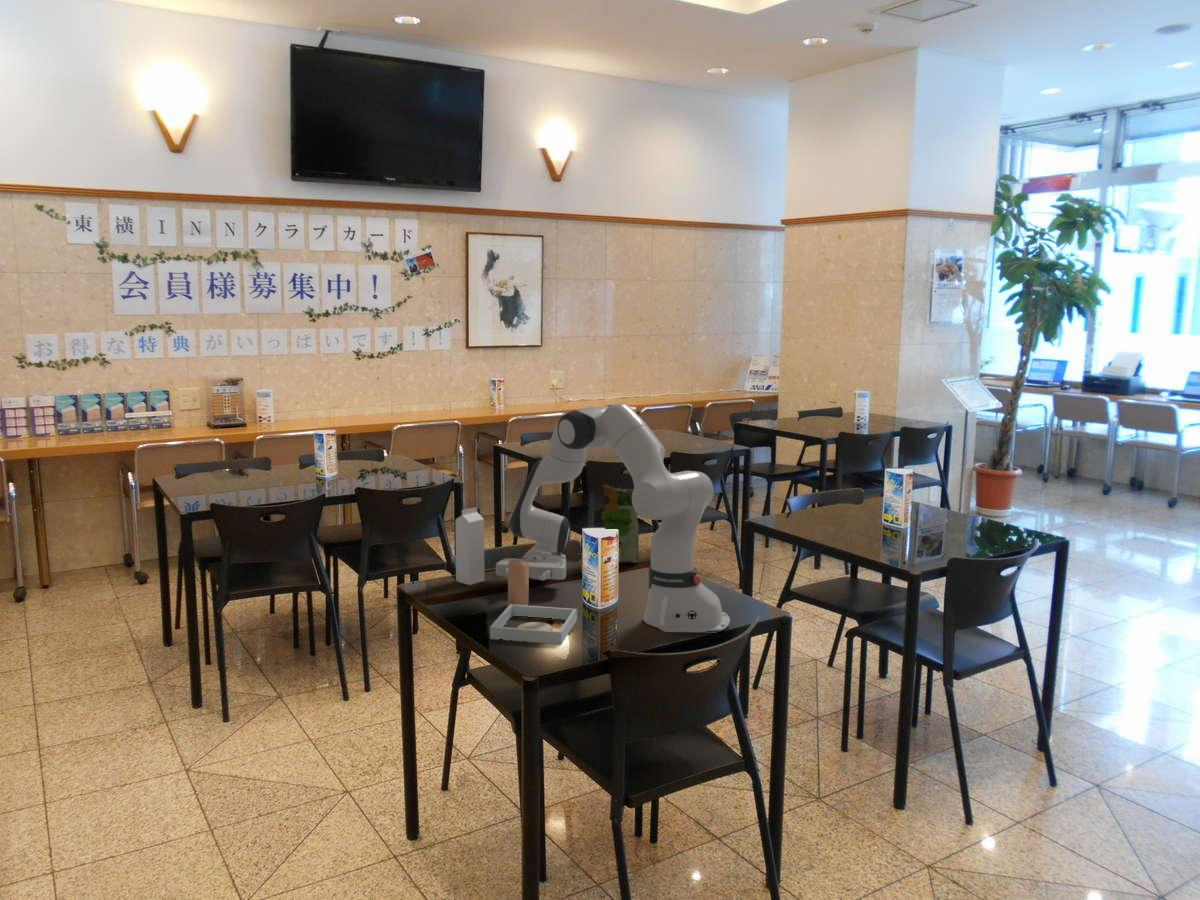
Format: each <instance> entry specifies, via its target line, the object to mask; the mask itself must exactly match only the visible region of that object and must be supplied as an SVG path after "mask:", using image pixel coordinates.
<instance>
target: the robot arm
mask: <svg viewBox="0 0 1200 900" xmlns="http://www.w3.org/2000/svg"><path fill="white" fill-rule="evenodd" d="M550 438H551V439H550V442H549V446H548V451H547V453H546V455H545V457H543V459H539V460H536V462H535V463H534V464H533V466H532V468H531V470H530V472H529V474H528V475H527V478H526V480H525V483H524V484H523V488H522V489H521V490H522V491H520V492H521V493H520V495H519V498H518V500H517V502H516V505H515V507H514V509H513V510H512V511H511V514H510V516H509V518H508V519H509V520H508V528H509V530H510V531H511V532H510V533H512V535H513V536H514V537H517V538H521V539H525V540H526V539H527V540H529V541H532V542H533V541H534V542H536V543H535V544H534V545H533V546H532V547H531V548H530V549H529V550H528V551H527V552H526V553H525V554H524V555H523V557H522V558H512V557H507V558H503V559H501V560H499V561H497V562H496V564H495V574H496V576H498V577H505V578H506V579H508V562H510V561H516V560H521V561H527V562H528V563H529V579H531V580H538V581H542V582H543V581H545V580H558V581H559V580H564V579H566V577H567V558H566V554H564V553H563V552H564V551H565V550H566V548H567V546H568V544H569V541H570V538H571V537H570V536H571V532H572V531H571V530H572V527H571V524H570V522H569V519H568V518H567V517H566V516H564V515H560V514H558V513H554V512H550V511H547V510H544V509H541V508H538V507H535V506H534V505H533V501H534V499H535V497H536V495H537V493H538V490H539V488H540V486H542V485H543V486H544V485H546V484H563V483H567V482H570V481H573V480H575V479H577V478H578V477H579V476H580V475H581V473H582V472H583V468H584V467H585V462H586V459H587V456H588V455H587V454H588V449H589V448H597V447H598V448H599V447H603V446H607V445H610V446H611V448H612V449H613V451H614V452H615V453H616V455H617V456H618V458H619V459H620V460H621V462H622V463H623V465H624V466H625V467H626V469H627V471H628V472H629V474H630V476H631V479H632V482H633V489H632V490H633V493H632V504H633V507H634V509H635V511H636V513H637V514H638V516H639V517H641V518H642V519H644V520H652V521H653V520H654V521H655V520H656V521H657V520H658V521H661V522H660V524H659V527H658V528H657V529H656V531H655V532H654V533H653V535H652V537H651V541H650V542H651V543H650V565H649V568H648V573H647V575H648V576H647V585H648V589H649V591H648V596H647V597H648V598H647V604H646V609H645V612H644V615H643V617H642V618H643V619H642V620H643V621H644V623H646V625H649V626H652V627H654V628H657V629H659V630H660V631H662V632H664V633H707V632H706V631H716V630H722V629H725V628H726V627H727V626H728V625H729V623H730V624H731V618H730V616H729V615H728V614H727V613H726V612H724V611H723V608H722V604H721V602H720V601H721V599H719V597H718V595H717V594H715V592H713V591H712V590H710V589H709V588H708V587H707V586H705V585H704V584H703V583H702V579H703V577H702V572H701V569H696V567H694V557H695V539H696V536H697V531H698V530H699V529H698V528H699V525H700V522H701V519H702V517H703V514H704V512H705V510H706V508H707V507H708V506H709V504H710V503H711V502H712V500H713V498H714V492H715V491H714V490H715V488H714V485H713V482H712V480H711V478H710V477H709V476H708V475H707V474H705V473H704V472H702V471H694V470H682V471H677V472H672V473H671V472H670V471H669V470H668V469H667V467H666V466H665V464H664V459H665V455H666V449H665V446H664V445H663V444H662V442H661V440H659V438H657V436H656V435H655V434H654V432H653V431H652V429H651V428H650V427H649V426H648V424H647V423H646V422H645V421H644V420H643V418H641V416H640V415H639V414H638V413H637V412H635V411H634V409H632V408H631V407H630V406H629V405H627V404H625V403H621V402H618V403H613V404H611V405H610V404H609V405H608V404H607V405H604V406H603V405H600V406H588V407H585V408H580V409H578V410H571V411H569V412H566V413H564V414H563V415H561V417H560V418H559V420H558V421H557V423H556V425H555V427H554V431H553V433H552V435H551V437H550ZM562 553H563V554H562ZM722 626H724V627H722Z"/></svg>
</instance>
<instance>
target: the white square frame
mask: <svg viewBox="0 0 1200 900" xmlns="http://www.w3.org/2000/svg"><path fill="white" fill-rule="evenodd" d="M514 616H528V617H543V618H552V619H551V620H554V619H561V620H560V621H564V623H563V625H562V626H561V628H560V629H559V630H552V631H549V630H536V629H523V628H517V627H510V626H509V627H507V626H506V625H507V623H508V622H509V621H510V620H511V619H512V617H514ZM510 618H511V619H510ZM509 619H510V620H509ZM508 620H509V621H508ZM507 621H508V622H507ZM577 621H578V609H577V608H570V607H569V608H566V607H556V606H555V607H551V606H539V605H538V606H537V605H529V606H527V605H513V604H510V605H509V606H508V605H507V607H506V608H505V609H504V611H502V613H500V615H499V616H498V617H497V619H495V620H494V621H493V623H492V624H491V625H490V626H489V639H490V640H499V639H503V640H502V641H511V640H512V641H514V642H524V641H525V642H526V643H535V644H536V643H538V644H551V645H562V644H563V643H564V641H565V639H566V638H567V637H568V636H569V634H570V632H571V630H572V629H573V627H574V625H575V624H576V622H577ZM506 622H507V623H506ZM504 625H505V626H504ZM503 626H504V627H503ZM512 641H511V642H512Z"/></svg>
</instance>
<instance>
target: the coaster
mask: <svg viewBox="0 0 1200 900" xmlns="http://www.w3.org/2000/svg"><path fill="white" fill-rule="evenodd" d="M516 628H523V629H536V630H549V631H553V626H552V625H551V624H550V623H546V622H540V621H532V622H531V621H530V622H525V623H520V624H519V625H517V627H516Z"/></svg>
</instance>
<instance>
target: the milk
mask: <svg viewBox="0 0 1200 900" xmlns="http://www.w3.org/2000/svg"><path fill="white" fill-rule="evenodd" d="M454 525H455V577H456V578H455V579H456V580H455V581H456V582H458V583H461V584H464V585H468V586H472V585H474V584H478V583H481V582H484V581H485V519H484V517H483V516H482V515H481V514H480V513H479V512H478V507H477V506H475V507H470V508H466V509H462V510H461V515H460V516H459V517H457V518H456V519H455V523H454Z"/></svg>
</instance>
